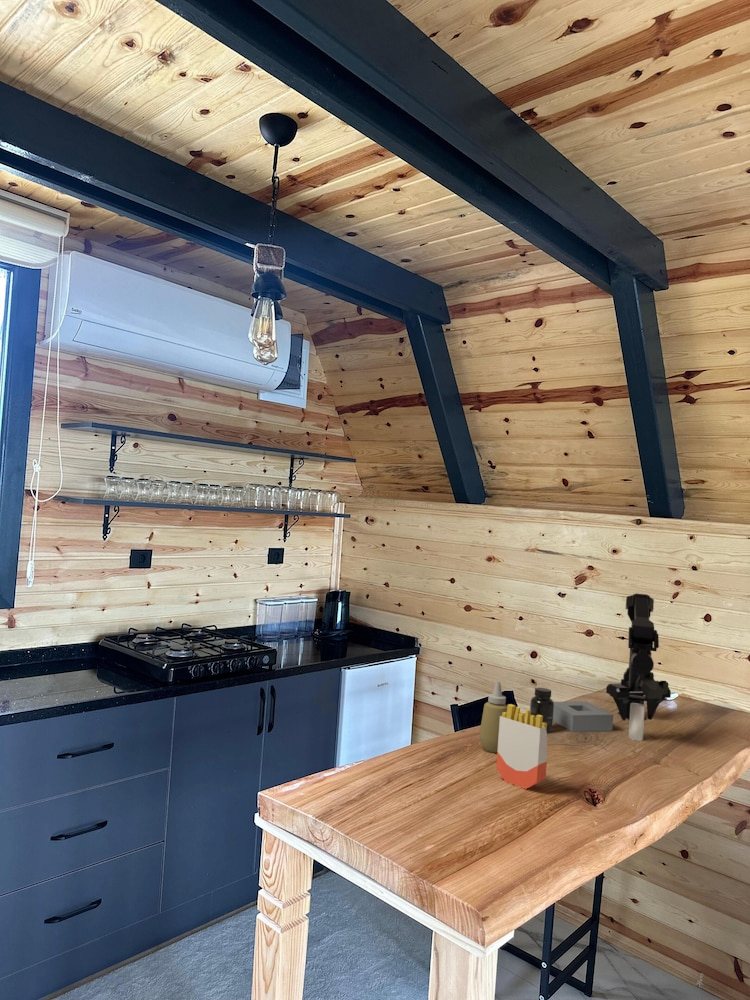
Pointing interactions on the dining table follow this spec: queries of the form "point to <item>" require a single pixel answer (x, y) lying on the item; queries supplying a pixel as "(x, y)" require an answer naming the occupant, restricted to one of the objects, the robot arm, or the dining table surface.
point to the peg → (636, 721)
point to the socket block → (582, 717)
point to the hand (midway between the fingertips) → (636, 719)
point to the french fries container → (522, 747)
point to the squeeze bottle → (492, 719)
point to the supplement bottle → (543, 706)
